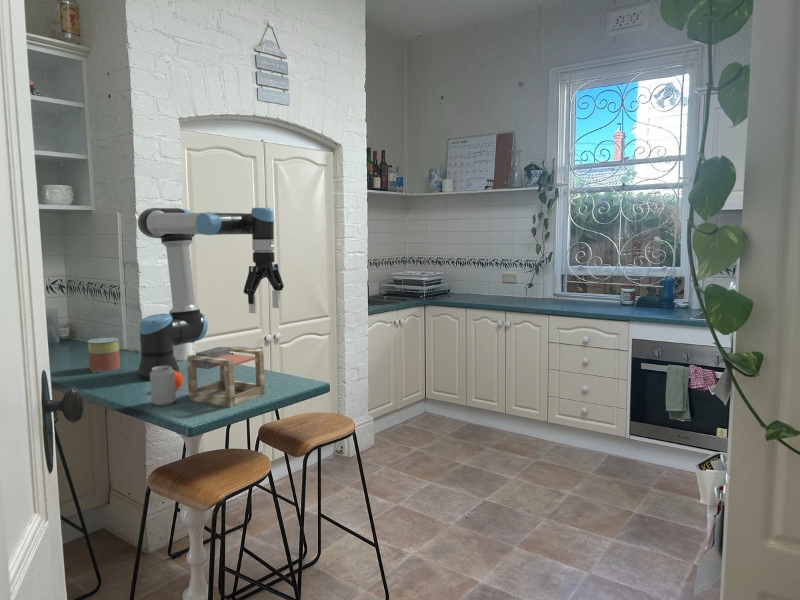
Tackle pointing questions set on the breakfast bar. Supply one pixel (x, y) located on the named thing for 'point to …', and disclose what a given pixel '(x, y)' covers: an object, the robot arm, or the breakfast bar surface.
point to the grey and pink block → (221, 357)
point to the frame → (226, 381)
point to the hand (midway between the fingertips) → (264, 310)
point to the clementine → (178, 380)
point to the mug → (183, 351)
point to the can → (162, 385)
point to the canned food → (104, 354)
